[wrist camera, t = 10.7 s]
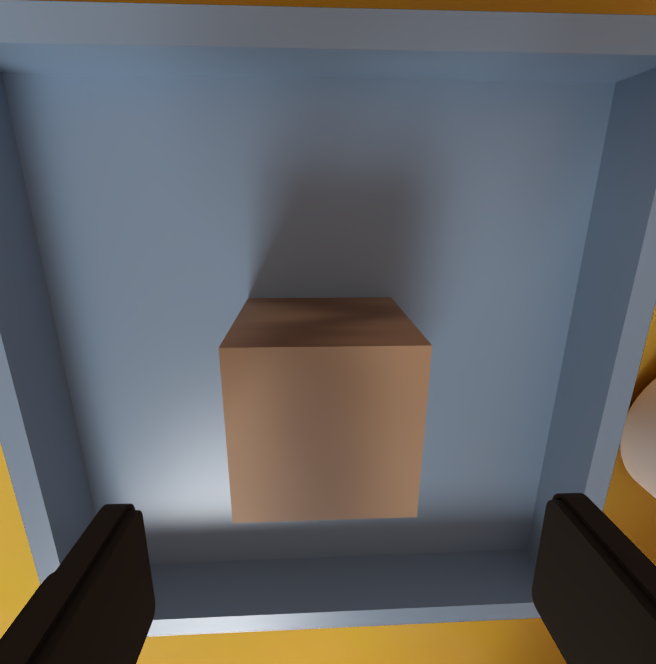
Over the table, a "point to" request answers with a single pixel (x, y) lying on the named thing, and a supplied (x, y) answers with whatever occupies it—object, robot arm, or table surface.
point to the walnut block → (324, 409)
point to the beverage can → (641, 439)
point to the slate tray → (320, 280)
